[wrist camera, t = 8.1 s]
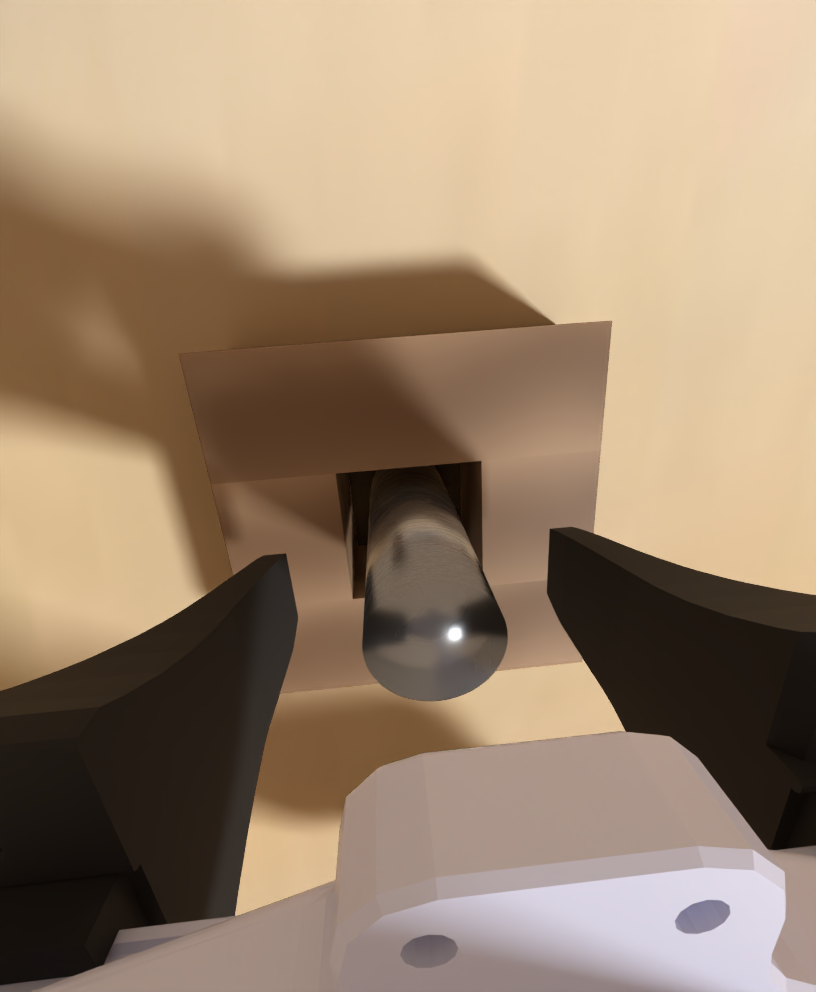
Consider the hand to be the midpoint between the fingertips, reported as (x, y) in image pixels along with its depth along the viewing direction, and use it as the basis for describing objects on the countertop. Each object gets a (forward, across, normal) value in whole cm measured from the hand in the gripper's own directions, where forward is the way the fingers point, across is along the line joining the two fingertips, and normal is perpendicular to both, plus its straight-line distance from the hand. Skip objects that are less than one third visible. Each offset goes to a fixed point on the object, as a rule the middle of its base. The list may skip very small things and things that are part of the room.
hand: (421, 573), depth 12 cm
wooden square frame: (+6, 0, 0) cm, 6 cm away
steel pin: (+6, 0, 0) cm, 6 cm away
